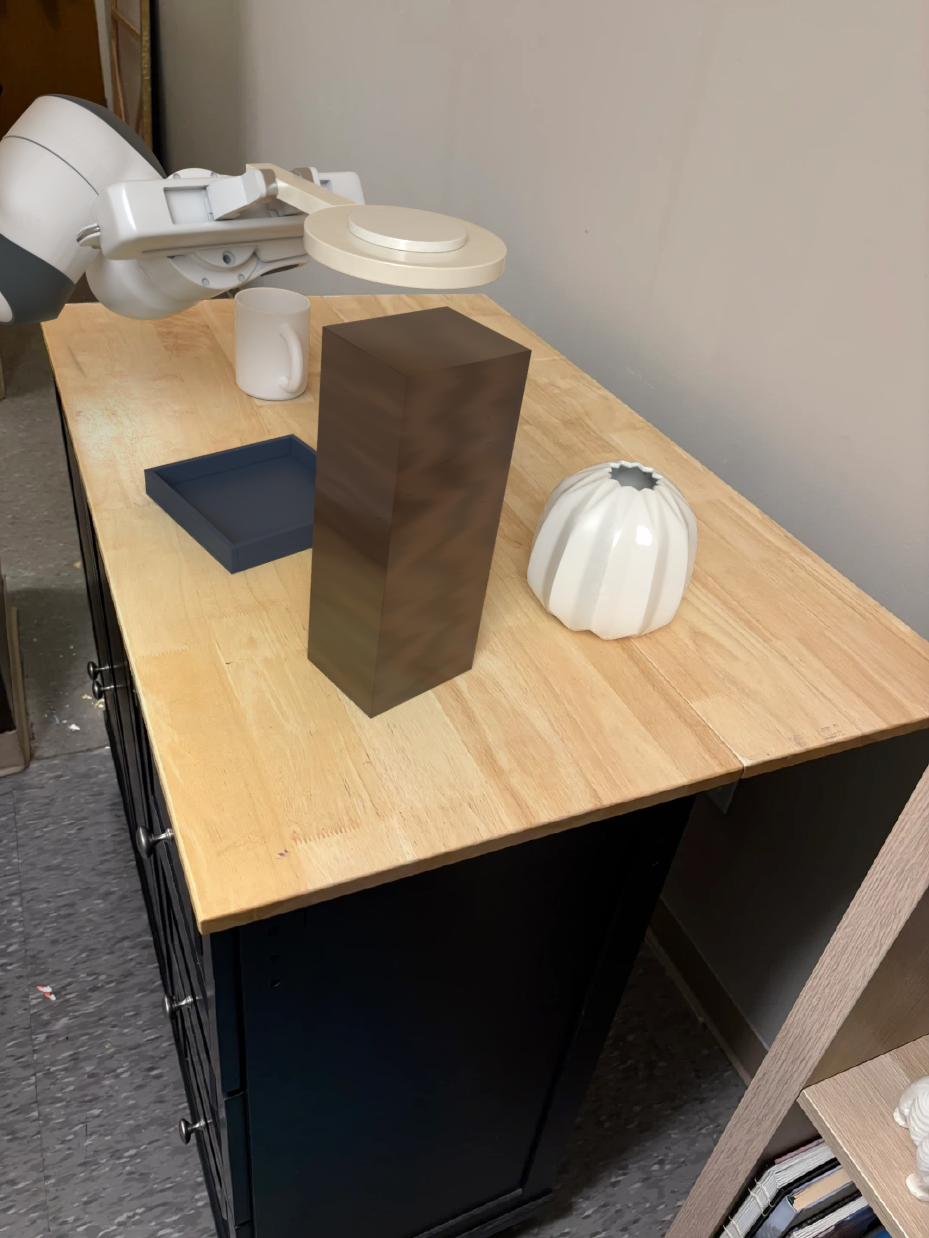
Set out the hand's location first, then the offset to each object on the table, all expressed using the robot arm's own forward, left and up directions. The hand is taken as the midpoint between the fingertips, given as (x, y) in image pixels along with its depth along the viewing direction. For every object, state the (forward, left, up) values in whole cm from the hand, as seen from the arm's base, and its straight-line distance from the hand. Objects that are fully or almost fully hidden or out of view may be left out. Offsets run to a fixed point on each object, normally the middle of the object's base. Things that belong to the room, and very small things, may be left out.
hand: (289, 180), depth 60 cm
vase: (+20, -19, -31) cm, 42 cm away
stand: (0, -15, -31) cm, 35 cm away
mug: (+19, +30, -31) cm, 47 cm away
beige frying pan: (0, -7, -1) cm, 7 cm away
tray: (+4, +9, -31) cm, 33 cm away
